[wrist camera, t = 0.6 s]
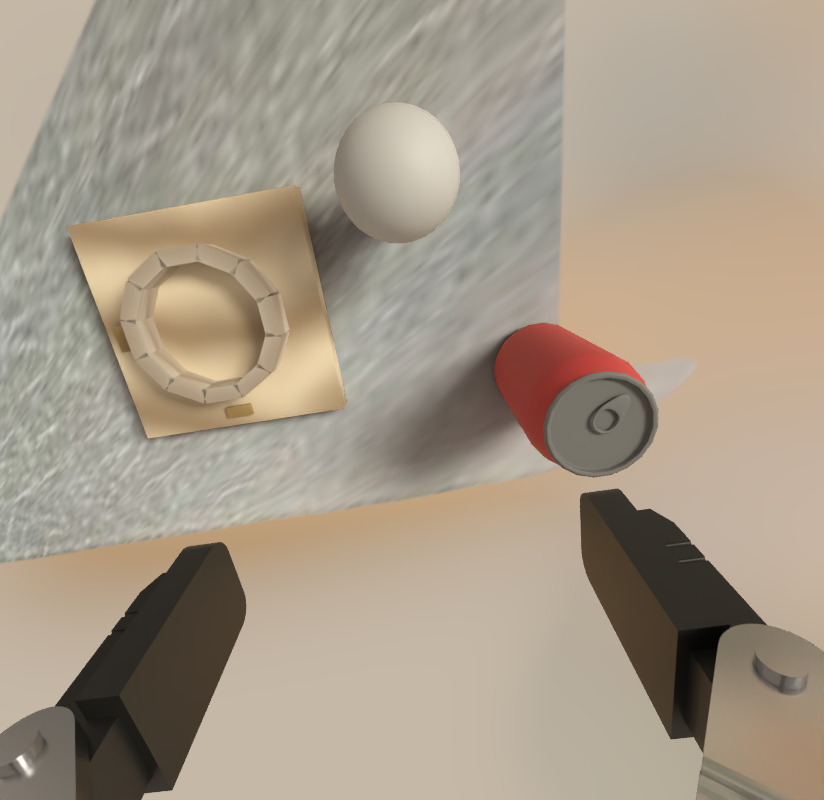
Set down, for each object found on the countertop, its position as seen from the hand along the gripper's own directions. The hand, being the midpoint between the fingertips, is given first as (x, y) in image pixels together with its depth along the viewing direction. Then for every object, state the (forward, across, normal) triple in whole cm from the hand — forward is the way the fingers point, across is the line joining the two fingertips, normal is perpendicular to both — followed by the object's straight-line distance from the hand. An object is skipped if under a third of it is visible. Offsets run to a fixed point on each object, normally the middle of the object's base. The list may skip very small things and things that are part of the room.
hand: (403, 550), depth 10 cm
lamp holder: (+24, +13, -3) cm, 27 cm away
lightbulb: (+24, -1, -9) cm, 26 cm away
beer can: (+24, -9, +4) cm, 26 cm away
